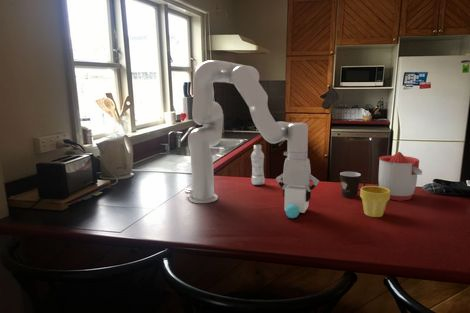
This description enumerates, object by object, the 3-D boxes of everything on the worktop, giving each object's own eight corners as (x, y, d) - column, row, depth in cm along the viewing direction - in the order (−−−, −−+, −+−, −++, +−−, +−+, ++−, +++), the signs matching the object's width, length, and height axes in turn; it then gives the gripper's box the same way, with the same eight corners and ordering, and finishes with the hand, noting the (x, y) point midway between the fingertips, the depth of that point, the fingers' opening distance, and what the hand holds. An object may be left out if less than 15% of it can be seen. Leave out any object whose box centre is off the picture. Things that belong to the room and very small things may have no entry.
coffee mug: (336, 193, 162) (337, 172, 160) (354, 192, 163) (355, 171, 161) (346, 201, 151) (347, 178, 149) (366, 200, 151) (367, 177, 149)
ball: (283, 219, 132) (284, 206, 131) (287, 214, 137) (287, 202, 136) (297, 220, 130) (297, 207, 130) (300, 216, 135) (300, 203, 134)
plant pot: (387, 210, 139) (389, 186, 137) (389, 220, 129) (391, 194, 127) (359, 208, 142) (360, 184, 140) (359, 217, 133) (360, 192, 131)
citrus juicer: (410, 206, 143) (414, 157, 140) (370, 197, 156) (372, 151, 152) (426, 197, 153) (430, 152, 150) (387, 189, 166) (389, 147, 162)
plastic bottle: (263, 186, 175) (263, 146, 172) (250, 186, 177) (249, 146, 173) (265, 183, 182) (265, 144, 178) (252, 182, 183) (251, 144, 179)
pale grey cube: (284, 210, 138) (284, 188, 136) (289, 204, 145) (289, 183, 143) (304, 212, 135) (304, 190, 133) (308, 206, 142) (308, 185, 140)
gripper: (272, 156, 136) (272, 200, 139) (319, 158, 129) (317, 204, 133) (277, 152, 143) (277, 194, 146) (322, 154, 136) (320, 199, 140)
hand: (296, 199), depth 139 cm, fingers closed on pale grey cube, 7 cm apart
